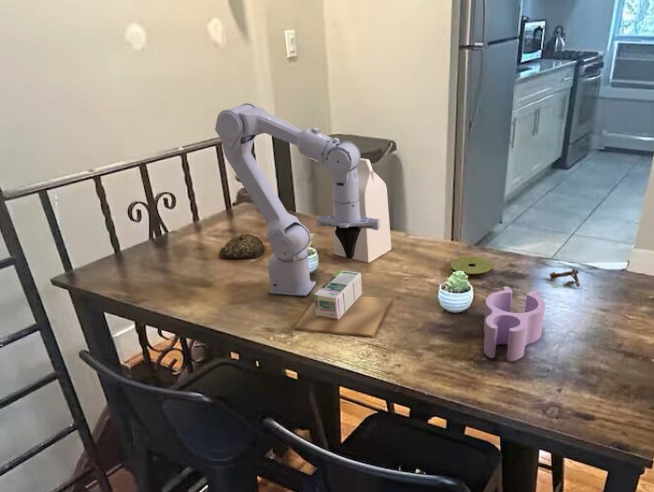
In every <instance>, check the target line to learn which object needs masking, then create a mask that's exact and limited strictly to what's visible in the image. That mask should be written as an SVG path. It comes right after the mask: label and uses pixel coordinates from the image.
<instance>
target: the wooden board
mask: <svg viewBox="0 0 654 492" xmlns="http://www.w3.org/2000/svg"><path fill="white" fill-rule="evenodd" d="M391 302H392V298H389V297H388V298H387V297H376V296H366V295H360V297H359V298H358V299H357V300H356V301H355V302H354V303H353V304H352V305H351V306H350V308H349V309H348V310H347V311H346V312H345V313H344V314H343V315H342V316H341V318H340V319H339V320H337V319H331V318H325V317H320V316H316V312H315V303H314V301H313V302H312V303H311V304H310V305H309V307H308V308H307V309H306V311H305V312H304V313H303V315H302V316H301V317H300V319H299V321H298V322H297V323H296V324H295V326H294V329H293V330H295V331H303V332H304V331H306V332H315V333H316V332H317V333H326V334H336V335H347V336H357V337H365V338H367V337H368V338H373V337H374V336H375V334H376V331H377V330H378V328H379V326H380V324H381V322H382V321H383V318H384V316H385V314H386V312H387V310H388V308H389V307H390V305H391Z"/></svg>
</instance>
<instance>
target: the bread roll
mask: <svg viewBox="0 0 654 492" xmlns="http://www.w3.org/2000/svg"><path fill="white" fill-rule="evenodd" d="M264 250H265V245H264V242H263V241H262V240H261V239H260V238H259V237H258V236H256V235H254V234H249V233H246V234H244V233H241V234H240V235H239V236H237V235H236V236H233V237H232V238H231V239H230V240H228V241H227V242H226V243H225V244H224V246H221V248H220V250H219V252H218V256H220V258H225V259H249V258H257V257H259V256H261V255H262V254H264Z"/></svg>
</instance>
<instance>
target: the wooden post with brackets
mask: <svg viewBox="0 0 654 492" xmlns="http://www.w3.org/2000/svg"><path fill="white" fill-rule="evenodd" d="M578 274H580V270H578V269H576V268H572V269H571V271H568V270H567V271H563V272H555V271H552V272H550V273H549V278H550V281H554V280H556V279H557V278H561V277H562V278H565V277H568V276H571V277H572V280H568V281H567V282H566V283H565V284H566V285H567V286H574V285H576V288H578V287H580V286H581V285H580V280H579V278H578ZM573 279H574V280H573Z"/></svg>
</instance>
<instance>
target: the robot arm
mask: <svg viewBox="0 0 654 492" xmlns="http://www.w3.org/2000/svg"><path fill="white" fill-rule="evenodd" d="M214 130H215V132H216V134H217V135H218V137H219V138H220V141H221V145H222V151H223V154H224V157H225V159H226V160H227V162H228V164H229V165H230V167H231V169H232V170H233V171H234V173H235V175H236V176H237V178H238V180H239V181H240V183H241V184H242V186H243V188H244V189H245V191H246V192H247V194H248V195H249V197H250V199H251V200H252V202H253V204H254V205H255V208H257V210H258V212H259V213H260V215H261V216H262V218H263V219H264V221H265V223H266V224H267V228H266V238H267V240H268V241H269V245H270V249H271V252H272V254H271V255H270V257H269V260H268V266H267V267H268V277H269V284H270V294H273V295H275V294H276V295H283V296H284V295H287V296H297V297H307V296H308V294H310V292H311V291H312V289H313V288H314V287H315V286H316V284H317V281H314V280H311V275H310V265H309V255H308V254H309V253H308V246H309V245H310V243H311V240H312V237H311V232H310V231H309V229H308V227H306V226H305V225H304V224H302V223H301V222H300V220H299V218H298V217H297V216H295V215H293V214H291V213H289V212H288V211H287V209H286V208H285V206H284V204H283V203H282V201H281V199H280V198H279V196H278V195H277V193H276V191H275V190H274V188H273V187H272V185H271V183H270V182H269V180H268V178H267V177H266V175H265V174H264V172H263V169H261V166H260V165H259V164H258V161H257V160H256V159H255V157H254V155H253V154H252V150H253V149H252V148H253V145H254V141H255V139H256V138H257V135H258V134H266V135H269V136H271V137H274V138H277V139H279V140H281V141H285V142H286V143H289V144H291V145H294V146H296V147H297V150H298V152H299V154H301V155H303V156H305V157H308V158H310V159H312V160H314V161H316V162H318V163H319V164H322V165H324V166H326V168H327V169H328V170H329V172H330V173H331V183H332V199H333V198H334V211H335V216H333V215H318V216H317V217H316V218H315V222H316V227H317V228H322V227H328V228H329V227H336V231H335V235H336V236H337V237H338V239H339V241H340V242H341V244H342V246H343V249H344V251H345V255H346V257H345V258H346V259H350V260H351V259H352V258H353V257H354V252H355V246H356V242H357V239H358V236H359V233H360V231H361V228H366V229H374V230H378V229H379V228H380V219H372V218H367V217H362V216H360V205H359V187H358V172H357V167H356V166H357V165H358V164H359V162H360V159H361V157H362V155H361V151H360V149H359V147H358V146H357V145H356V144H355V143H354V142H352V141H351V140H343V141H340V139H339V137H334V138H333V137H331V136H329V135H327V134H326V133H325V134H324V133H323V132H320V131H321V129H320V128H318V127H316V126H315V127H312V128H311V127H308V128H305V129H303V130H302V129H300V128H298V127H296V126H294V125H292V124H291V123H289V122H287V121H285V120H283V119H281V118H279V117H277V116H275V115H273V113H272V114H271V113H269V112H268V111H267V110H265V108H263V107H261V106H256V105H255V104H253V103H250V102H246V103H243V104H241V105H238V106H236V107H232V108H229V109H223V110H221V111H220V112H219V113H218V115H217V117H216V122H215V128H214ZM355 167H356V168H355ZM353 168H354V169H353ZM352 260H353V259H352Z"/></svg>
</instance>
